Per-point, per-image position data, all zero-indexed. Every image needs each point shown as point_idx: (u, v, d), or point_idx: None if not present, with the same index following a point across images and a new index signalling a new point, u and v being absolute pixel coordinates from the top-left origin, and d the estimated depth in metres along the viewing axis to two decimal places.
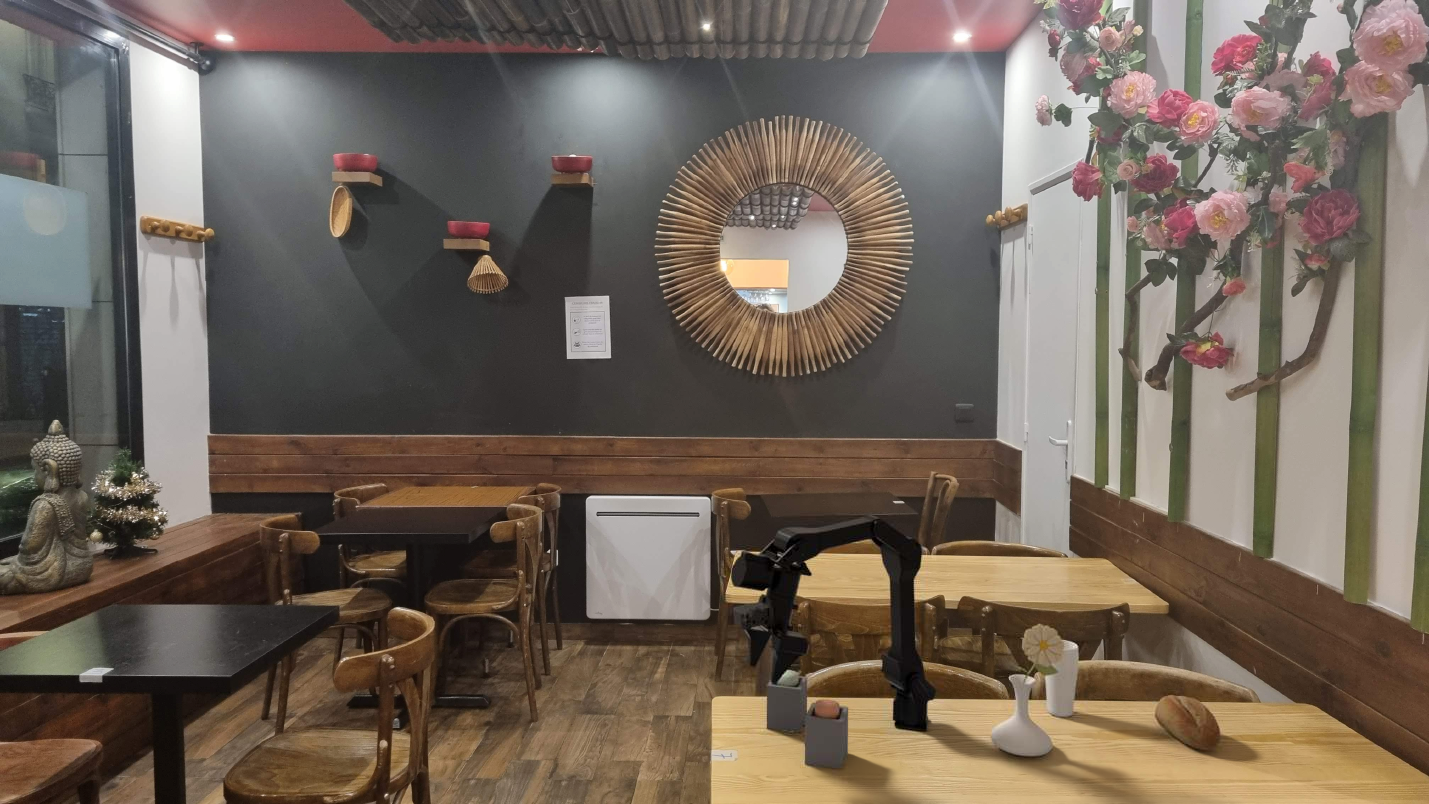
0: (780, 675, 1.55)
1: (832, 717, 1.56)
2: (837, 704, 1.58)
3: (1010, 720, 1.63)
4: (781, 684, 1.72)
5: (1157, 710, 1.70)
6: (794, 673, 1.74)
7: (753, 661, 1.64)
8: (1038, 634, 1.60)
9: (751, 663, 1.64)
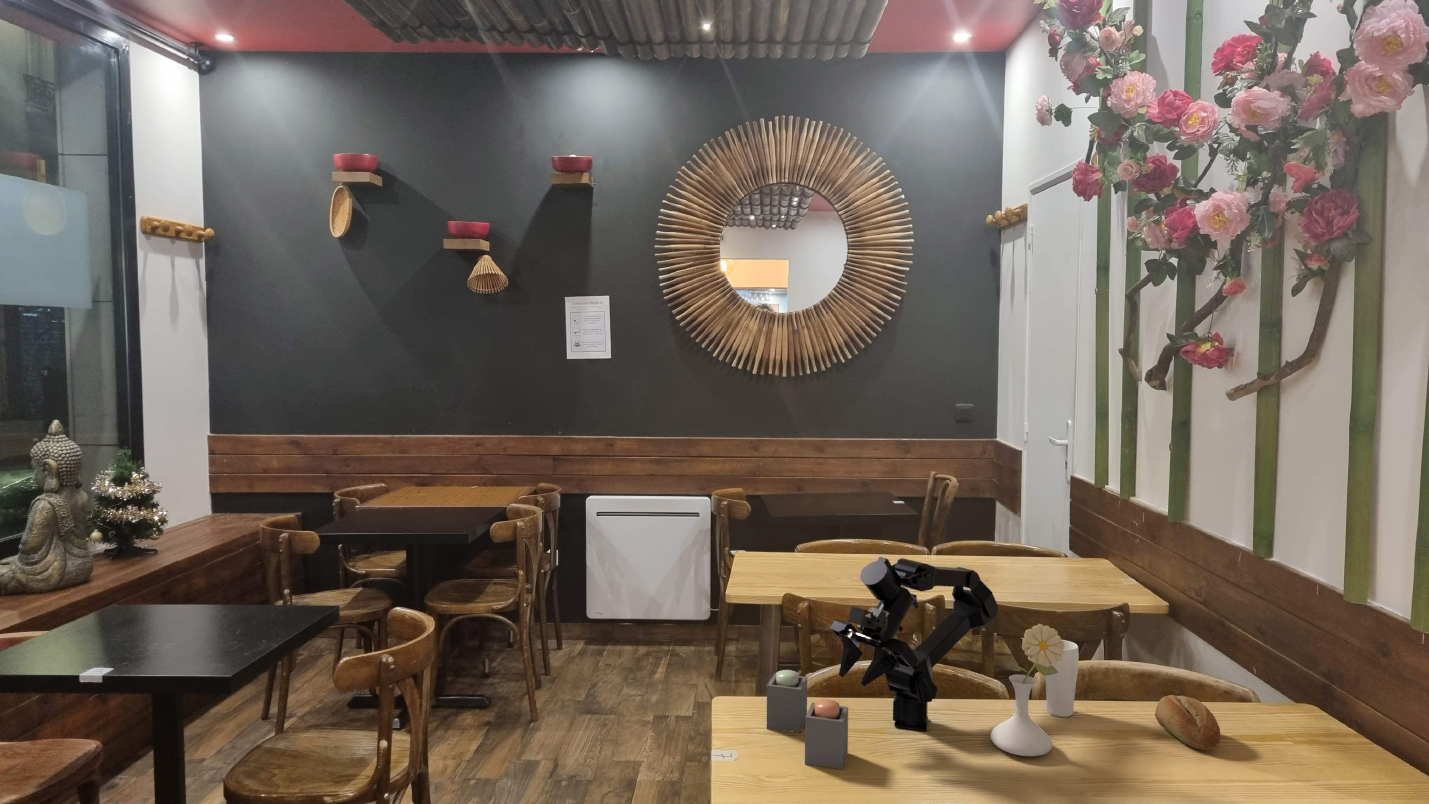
0: (871, 679, 1.60)
1: (832, 717, 1.56)
2: (837, 704, 1.58)
3: (1010, 720, 1.63)
4: (781, 684, 1.72)
5: (1157, 710, 1.70)
6: (794, 673, 1.74)
7: (843, 671, 1.65)
8: (1038, 634, 1.60)
9: (841, 672, 1.64)
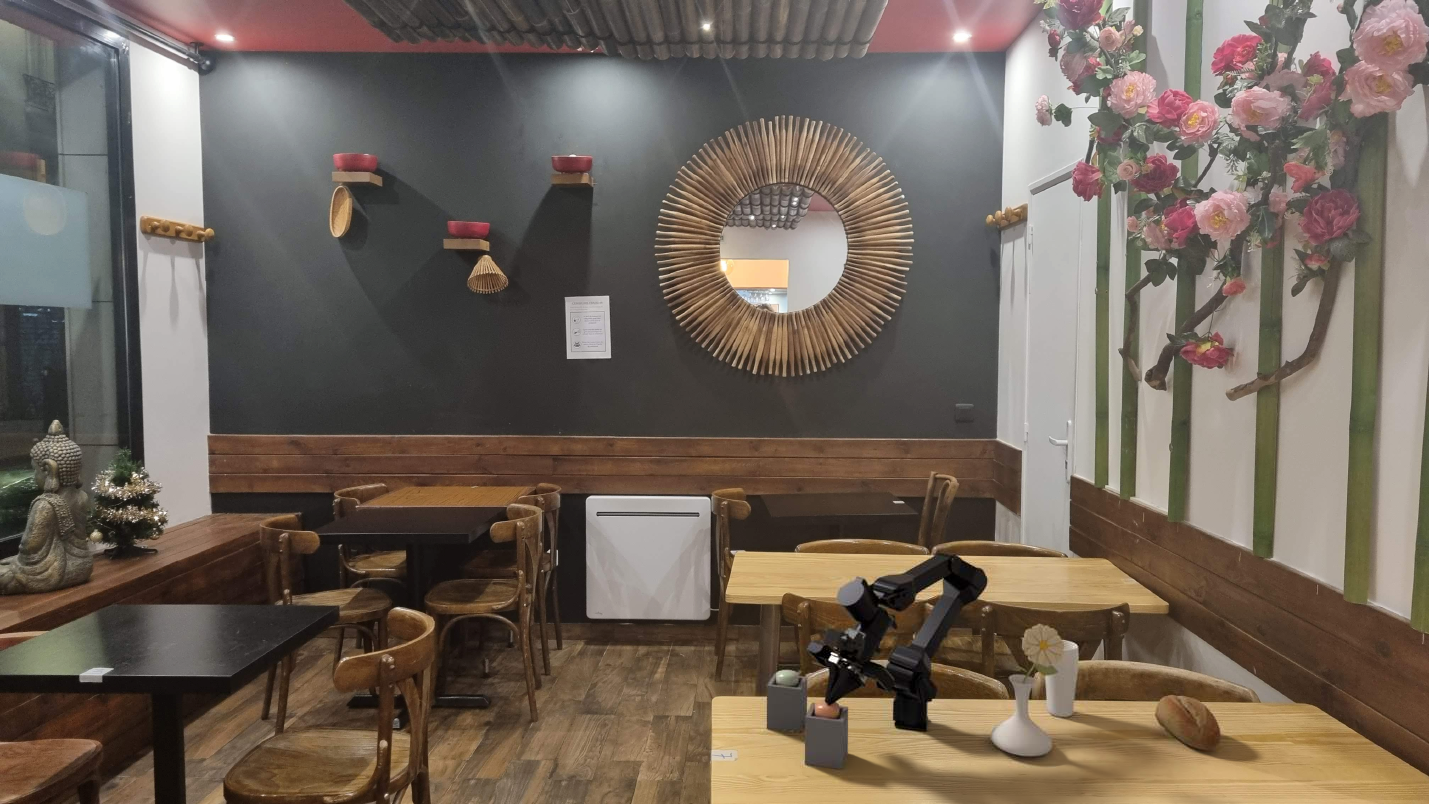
0: (837, 699, 1.59)
1: (832, 718, 1.56)
2: (837, 705, 1.58)
3: (1010, 720, 1.63)
4: (781, 684, 1.72)
5: (1157, 710, 1.70)
6: (794, 673, 1.74)
7: None
8: (1038, 634, 1.60)
9: (827, 699, 1.58)
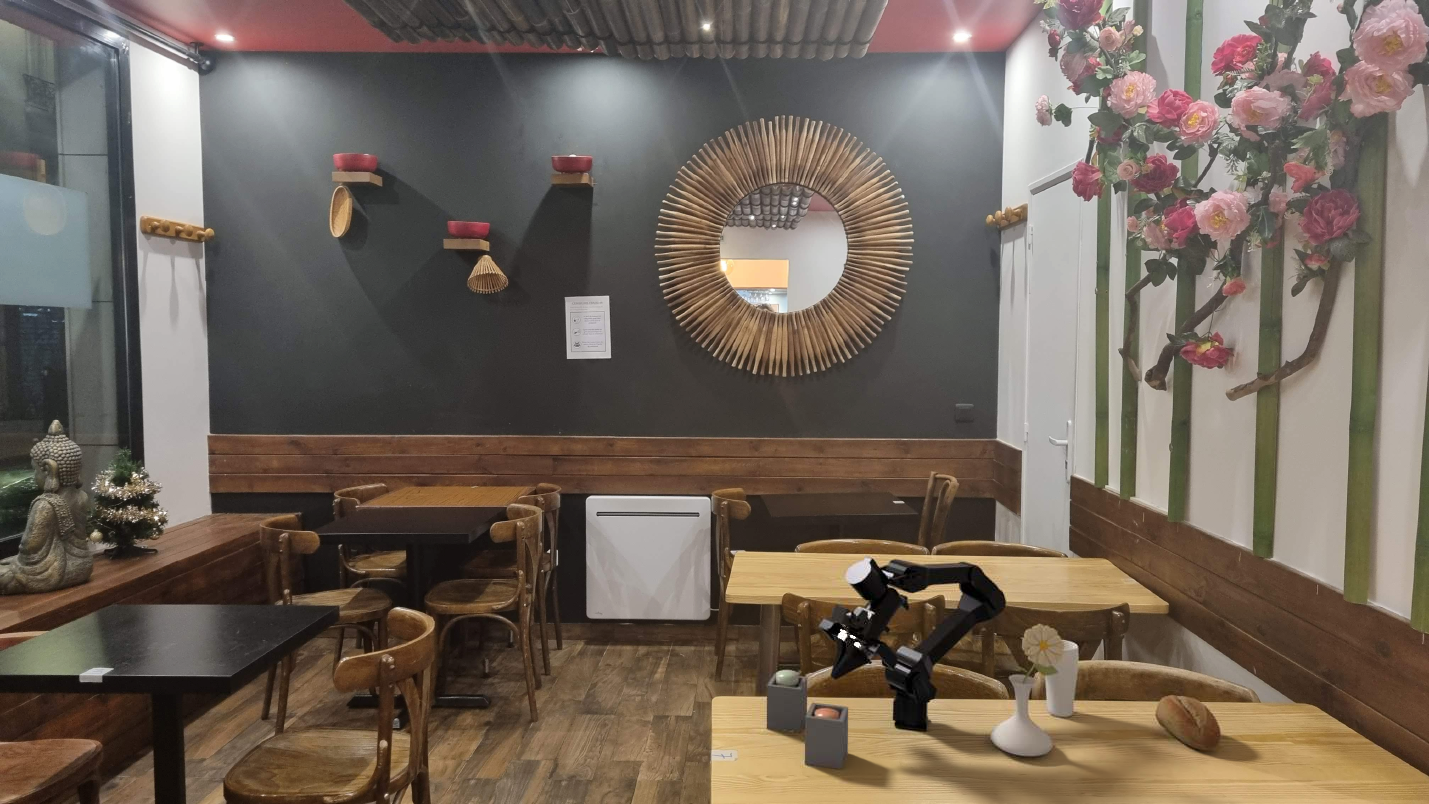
0: (842, 674, 1.63)
1: None
2: (837, 713, 1.58)
3: (1010, 720, 1.63)
4: (781, 684, 1.72)
5: (1157, 710, 1.70)
6: (794, 673, 1.74)
7: None
8: (1038, 634, 1.60)
9: (833, 674, 1.63)
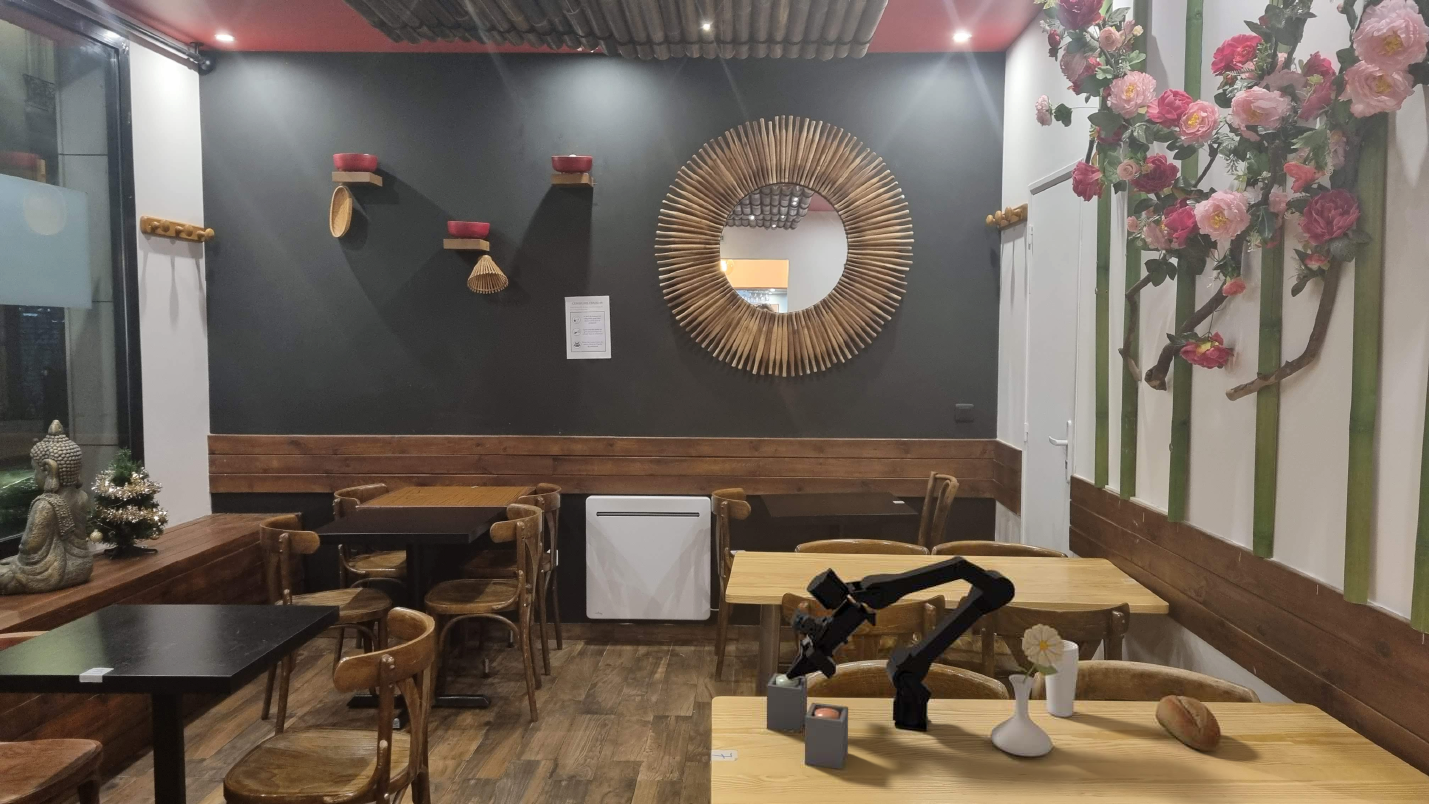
0: (796, 675, 1.72)
1: None
2: (837, 713, 1.58)
3: (1010, 720, 1.63)
4: None
5: (1158, 710, 1.70)
6: (794, 678, 1.74)
7: None
8: (1038, 634, 1.60)
9: None
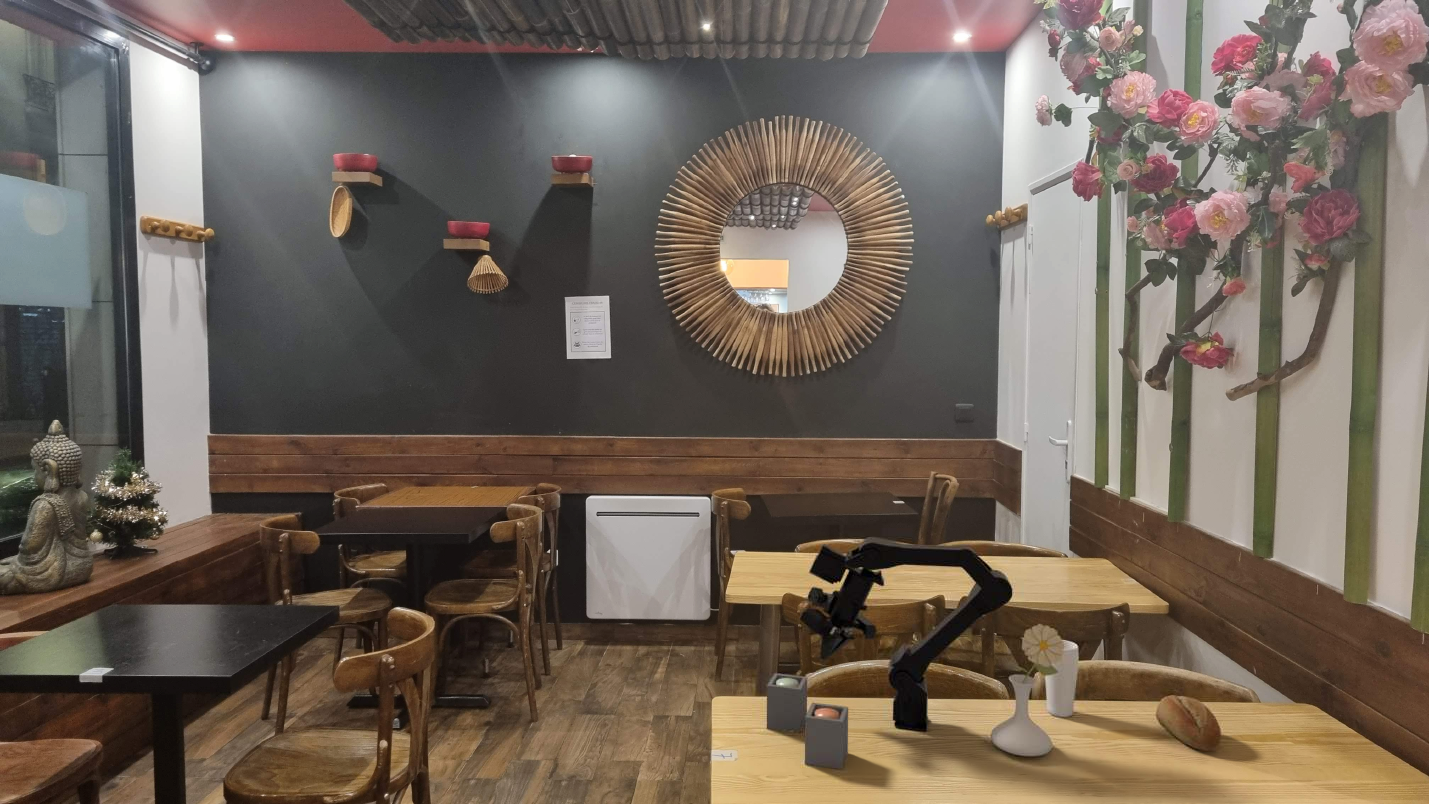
0: (825, 653, 1.76)
1: None
2: (837, 713, 1.58)
3: (1010, 720, 1.63)
4: None
5: (1158, 710, 1.70)
6: (794, 681, 1.74)
7: None
8: (1038, 634, 1.60)
9: None
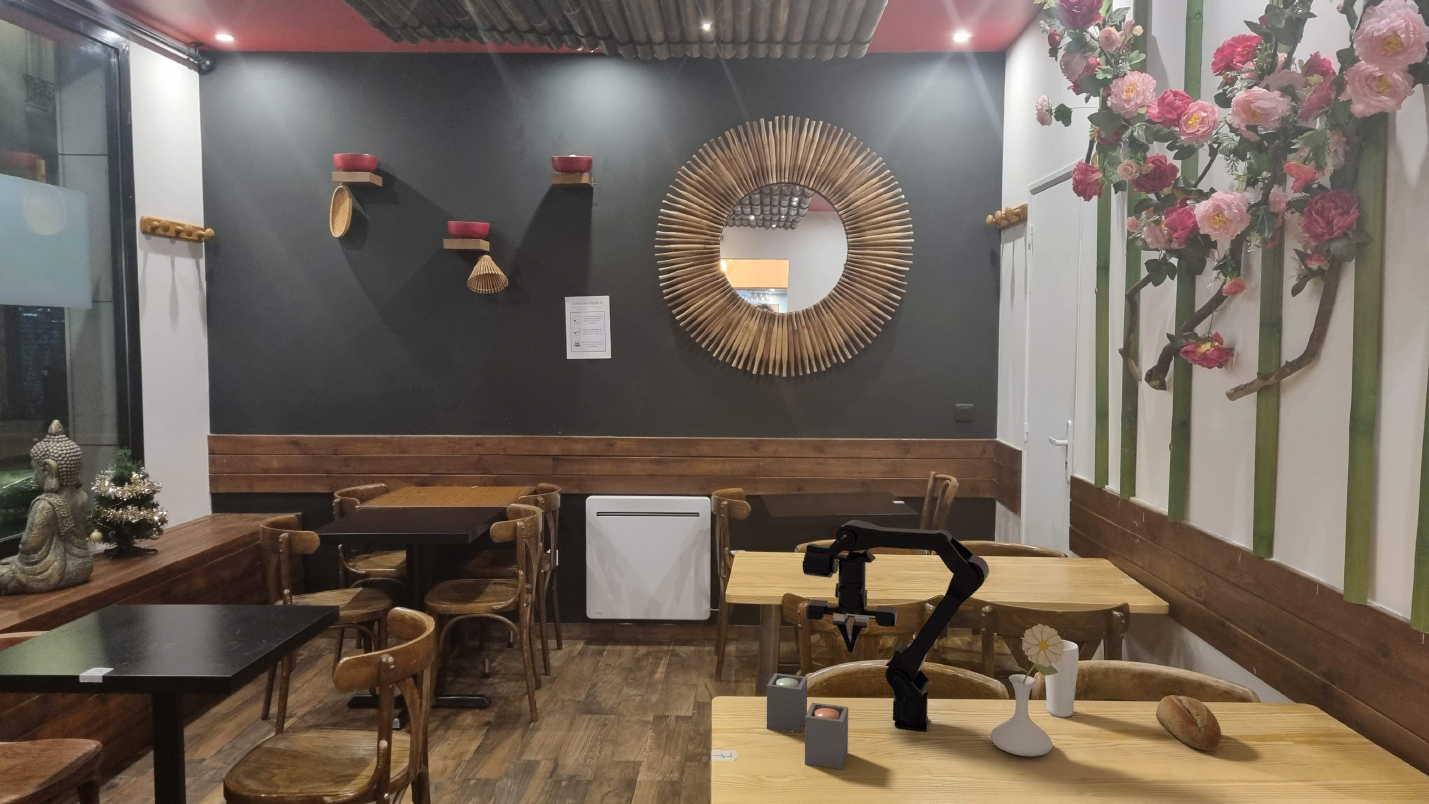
0: None
1: None
2: (837, 713, 1.58)
3: (1010, 720, 1.63)
4: None
5: (1158, 710, 1.70)
6: (794, 681, 1.74)
7: None
8: (1038, 634, 1.60)
9: None
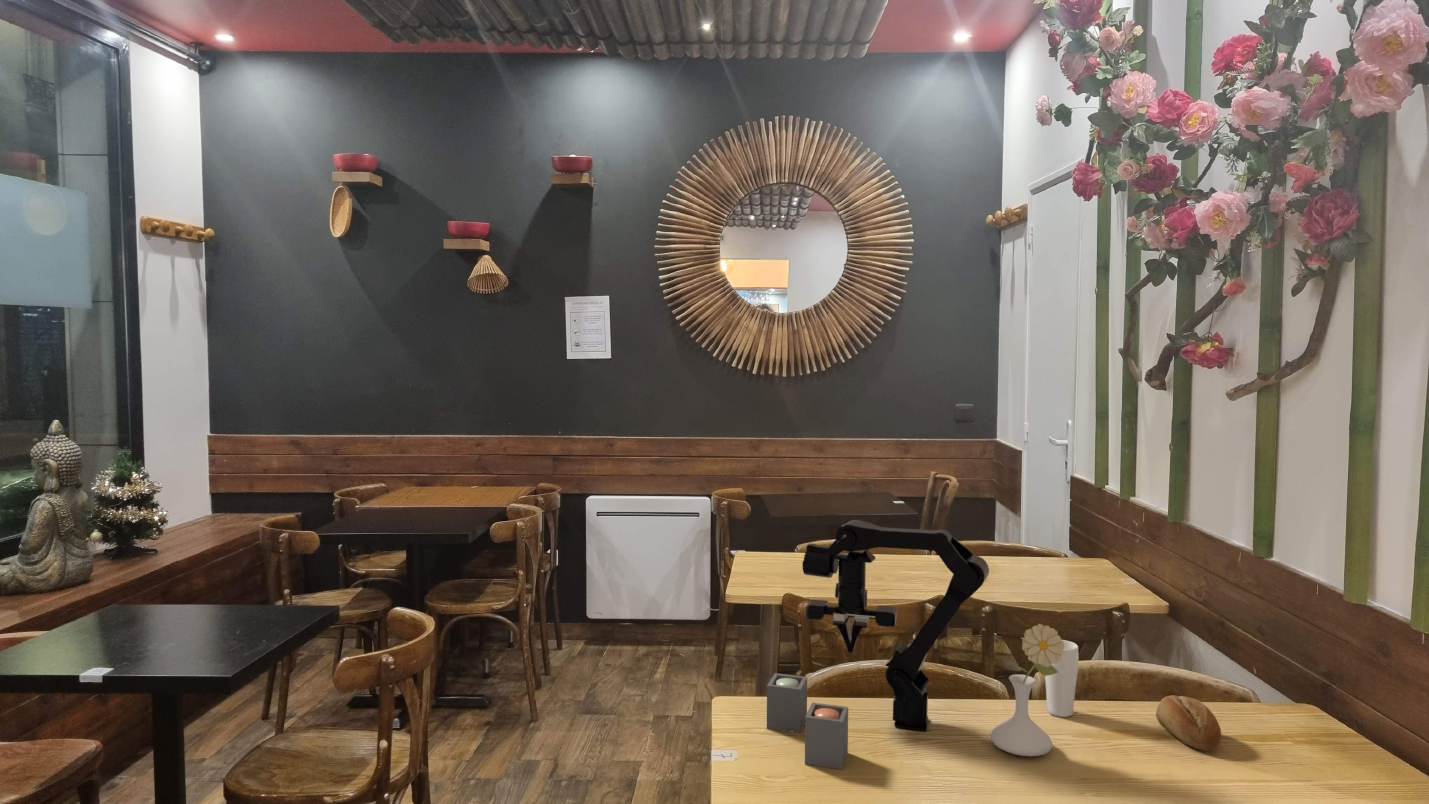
0: None
1: None
2: (837, 713, 1.58)
3: (1010, 720, 1.63)
4: None
5: (1158, 710, 1.70)
6: (794, 681, 1.74)
7: None
8: (1038, 634, 1.60)
9: None
